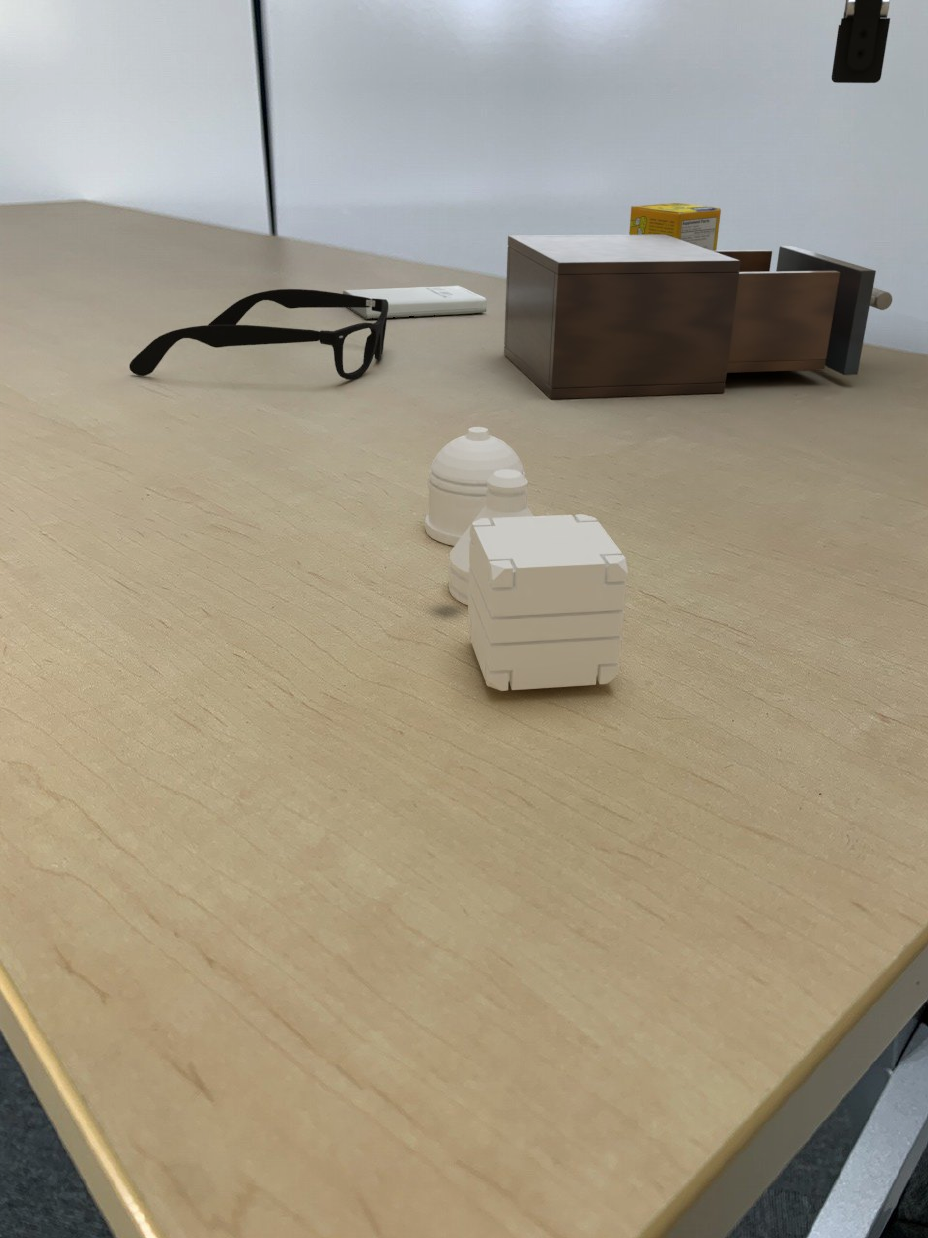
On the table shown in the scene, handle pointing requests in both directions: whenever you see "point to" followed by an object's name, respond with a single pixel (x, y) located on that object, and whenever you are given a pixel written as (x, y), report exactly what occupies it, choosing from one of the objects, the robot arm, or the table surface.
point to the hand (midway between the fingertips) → (854, 82)
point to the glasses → (276, 329)
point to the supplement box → (678, 222)
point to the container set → (525, 572)
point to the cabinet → (619, 314)
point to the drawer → (800, 312)
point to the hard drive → (422, 301)
